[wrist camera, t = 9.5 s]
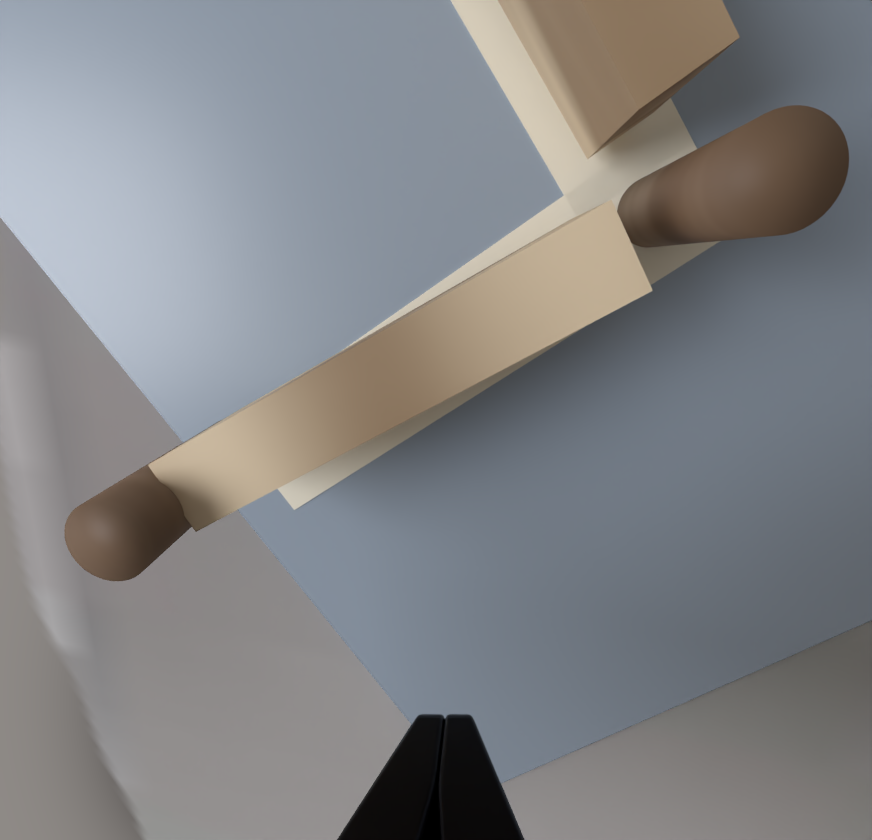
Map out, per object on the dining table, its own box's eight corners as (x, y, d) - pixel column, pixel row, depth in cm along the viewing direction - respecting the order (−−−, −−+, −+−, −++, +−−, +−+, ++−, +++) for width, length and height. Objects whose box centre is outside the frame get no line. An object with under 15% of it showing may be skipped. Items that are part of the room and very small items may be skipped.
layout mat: (575, -610, 9) (582, -679, 8) (1067, 510, 13) (1096, 523, 12) (-83, 89, 12) (-113, 80, 12) (470, 778, 17) (470, 798, 16)
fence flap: (570, 219, 11) (631, 189, 6) (599, 282, 11) (677, 294, 7) (195, 434, 13) (46, 524, 8) (228, 482, 13) (101, 593, 9)
